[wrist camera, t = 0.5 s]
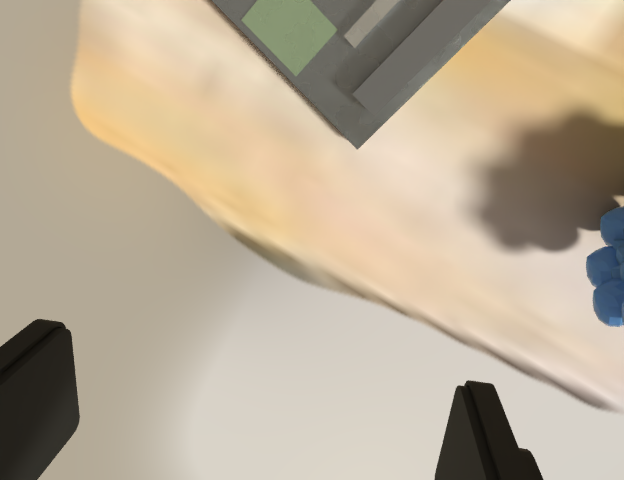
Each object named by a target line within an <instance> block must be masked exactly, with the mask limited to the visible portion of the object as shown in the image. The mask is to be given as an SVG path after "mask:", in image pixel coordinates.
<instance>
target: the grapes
mask: <svg viewBox="0 0 624 480" xmlns="http://www.w3.org/2000/svg"><path fill="white" fill-rule="evenodd" d="M600 231H601V237H602V238H603V240H604V242H605V244H606V245H608V247H603V248H600V249H598V250H596V251H594V252H593V253H592V254H590V255H589V256H588V257H587V262H586V270H587V277H588V278H589V280H590V282H591V284H592V285H593V286H595V287H596V289H595V290H594V292H593V307H594V311H595V313H596V315H597V317H598V319H599V320H600V321H601V322H603V323H604V324H606V325H607V326H615V327H620V326H622V325H624V206H623V207H617V208H615V209H613V210H610V211H609V212H607V213H606V214H604V215H603V216H602V217H601V222H600Z"/></svg>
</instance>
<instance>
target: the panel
mask: <svg viewBox="0 0 624 480" xmlns="http://www.w3.org/2000/svg"><path fill="white" fill-rule="evenodd" d="M212 1H213V2H214V3H215V4H216V5H217V6H218V7H219V8H220V9H221V11H222V12H223V13H224V14H225V15H226V16H227V17H228V18H229V19H230V20H231V21H232V22H233V23H234V24H235V25H236V26H237V27H238V28H239V29H240V30H241V31H242V32H243V33H244V34H245V35H246V36H247V37H248V38H249V39H250V40H251V41H252V42H253V43H254V44H255V45H256V46H257V47H258V48H259V49H260V50H261V51H262V52H263V53H264V54H265V56H266V57H267V58H268V59H269V60H270V61H271V62H272V63H273V64H274V65H275V66H276V67H277V68H278V69H279V70H280V71H281V72H282V73H283V74H284V75H285V76H286V77H287V78H288V79H289V80H290V81H291V82H292V83H293V84H294V85H295V86H296V87H297V88H298V89H299V90H300V91H301V92H302V93H303V94H304V95H305V96H306V97H307V98H308V100H309V101H310V102H311V103H312V104H313V105H314V106H315V107H316V108H317V109H318V110H319V111H320V112H321V113H322V114H323V115H324V116H325V117H326V118H327V119H328V120H329V121H330V122H331V123H332V124H333V125H334V126H335V127H336V128H337V129H338V130H339V131H340V132H341V133H342V134H343V135H344V136H345V137H346V138H347V139H348V140H349V141H350V142H351V143H352V145H353V146H354V147H355V148H356V149H358V148H359V147H361V146H362V145H363V144H364V143H365V142H366V141H367V140H368V139H369V138H370V137H371V136H372V135H373V134H374V133H375V132H376V131H377V130H378V129H379V128H380V127H381V126H382V125H383V124H384V123H385V122H386V121H387V120H388V119H389V118H390V117H391V116H392V115H393V114H394V113H395V112H396V111H397V110H398V109H399V108H401V107H402V106H403V105H404V104H405V103H406V102H407V101H408V100H409V99H410V98H411V97H412V96H413V95H414V94H415V93H416V92H417V91H418V90H419V89H420V88H421V87H422V86H423V85H424V84H425V83H426V82H427V81H428V80H429V79H430V78H431V77H432V76H433V75H434V74H435V73H436V72H437V71H438V70H439V69H441V68H442V67H443V66H444V65H445V64H446V63H447V62H448V61H449V60H450V59H451V58H452V57H453V56H454V55H455V54H456V53H457V52H458V51H459V50H460V49H461V48H462V47H463V46H464V45H465V44H466V43H467V42H468V41H469V40H470V39H471V38H472V37H473V36H474V35H475V34H476V33H477V32H478V31H479V30H480V29H482V28H483V27H484V26H485V25H486V24H487V23H488V22H489V21H490V20H491V19H492V18H493V17H494V16H495V15H496V14H497V13H498V12H499V11H500V10H501V9H502V8H503V7H504V6H505V5H506V4H507V3H508V2H509V1H510V0H491V1H490V2H489V3H488V4H487V5H486V6H485V7H484V8H483V9H482V10H481V11H480V12H479V13H478V14H477V15H476V16H475V17H474V18H473V19H472V20H471V21H470V22H469V23H468V24H467V25H466V26H465V27H464V28H463V29H462V30H461V31H460V32H459V33H458V34H457V35H456V36H455V37H454V38H453V39H452V40H451V41H450V42H449V43H448V44H447V45H446V46H445V47H444V48H443V49H442V50H441V51H440V52H439V53H438V54H437V55H436V56H435V57H434V58H433V59H432V60H431V61H430V62H429V63H428V64H427V65H426V66H425V67H424V68H422V69H421V70H420V71H419V72H418V73H417V74H416V75H415V76H414V77H413V78H412V79H411V80H410V81H409V82H408V83H407V84H406V85H405V86H404V87H403V88H402V89H401V90H400V91H399V92H398V93H397V94H396V95H395V96H394V97H393V98H392V99H391V100H390V101H389V102H388V103H387V104H386V105H385V106H384V107H383V108H382V109H381V110H380V111H379V112H378V113H377V114H376V115H375V116H373V115H372V114H371V113H370V112H369V111H368V110H367V109H366V108H365V107H364V106H363V105H362V104H361V103H360V102H359V101H358V100H357V99H356V98H355V97H354V95H353V94H352V93H353V92H354V91H355V90H356V89H357V88H358V87H359V86H360V85H361V84H362V83H363V82H364V80H365V79H366V78H367V77H368V76H369V75H370V74H371V73H372V72H373V71H374V70H375V69H376V68H377V67H378V66H379V65H380V64H381V63H382V62H383V61H384V60H385V59H386V58H387V57H388V56H389V55H390V54H391V53H392V52H393V50H394V49H395V48H396V47H397V46H398V45H399V44H400V43H401V42H402V41H403V40H404V39H405V38H406V37H407V36H408V35H409V34H410V33H411V32H412V31H413V30H414V29H415V28H416V27H417V26H418V25H419V24H420V23H421V22H422V21H423V19H424V18H425V17H426V16H427V15H428V14H429V13H430V12H431V11H432V10H433V9H434V8H435V7H436V6H437V5H438V4H439V3H440V2H441V1H442V0H212Z"/></svg>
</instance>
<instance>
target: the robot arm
mask: <svg viewBox="0 0 624 480" xmlns="http://www.w3.org/2000/svg"><path fill="white" fill-rule="evenodd" d="M79 418H80V415H79V406H78V396H77V387H76V376H75V366H74V356H73V347H72V336H71V332H70V330H68V329H66V327H65V325H64V324H63V323H62V322H57V321H49V320H43V319H37V320H35V321H33V322H32V323H31V324H29V325H28V326H27V327H26V328H24V329H23V330H21V331H20V332H19V333H18V334H16V335H15V336H14V337H13V338H11V339H10V340H9V341H7V342H6V343H5V344H3V345H2V346H1V347H0V480H37V479H38V478H39V477H40V475H41V474H42V473H43V472H44V470H45V469H46V468H47V467H48V465H49V464H50V463H51V462H52V460H53V459H54V458H55V456H56V455H57V454H58V453H59V451H60V450H61V449H62V448H63V446H64V445H65V444H66V443H67V441H68V440H69V439H70V438H71V436H72V435H73V434H74V432H75V431H76V429H77V426H78V424H79ZM435 480H543V478H542V475H541V473H540V470H539V468H538V466H537V463H536V461H535V459H534V457H533V455H532V453H531V452H530V451H529V450H527V449H522V448H518V445H517V443H516V440H515V438H514V435H513V433H512V430H511V427H510V425H509V422H508V420H507V417H506V415H505V412H504V409H503V407H502V404H501V402H500V399H499V397H498V394H497V392H496V389H495V387H494V385H493V384H490V383H483V382H476V381H466V383H465V385H464V386H457V388H456V391H455V395H454V399H453V403H452V407H451V411H450V416H449V419H448V424H447V427H446V432H445V436H444V440H443V444H442V448H441V452H440V456H439V461H438V464H437V468H436V473H435Z"/></svg>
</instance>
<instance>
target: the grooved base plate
mask: <svg viewBox="0 0 624 480" xmlns="http://www.w3.org/2000/svg"><path fill="white" fill-rule="evenodd" d="M490 1H491V0H442V1H441V2H440V3H439V4H438V5H437V6H436V7H435V8H434V9H433V10H432V11H431V12H430V13H429V14H428V15H427V16H426V17H425V18H424V19H423V21H422V22H421V23H420V24H419V25H418V26H417V27H416V28H415V29H414V30H413V31H412V32H411V33H410V34H409V35H408V36H407V37H406V38H405V39H404V40H403V41H402V42H401V43H400V44H399V45H398V46H397V47H396V48H395V49H394V50H393V52H392V53H391V54H390V55H389V56H388V57H387V58H386V59H385V60H384V61H383V62H382V63H381V64H380V65H379V66H378V67H377V68H376V69H375V70H374V71H373V72H372V73H371V74H370V75H369V76H368V77H367V78H366V79H365V80H364V82H363V83H362V84H361V85H360V86H359V87H358V88H357V89H356V90H355V91H354V92H353V93H352V94H353V95H354V97H355V98H356V99H357V100H358V101H359V102H360V103H361V104H362V105H363V106H364V107H365V108H366V109H367V110H368V111H369V112H370V113H371V114H372V115H373V116H375V115H376V114H377V113H378V112H379V111H380V110H381V109H382V108H383V107H384V106H385V105H386V104H387V103H388V102H389V101H390V100H391V99H392V98H393V97H394V96H395V95H396V94H397V93H398V92H399V91H400V90H401V89H402V88H403V87H404V86H405V85H406V84H407V83H408V82H409V81H410V80H411V79H412V78H413V77H414V76H415V75H416V74H417V73H418V72H419V71H420V70H421V69H422V68H424V67H425V66H426V65H427V64H428V63H429V62H430V61H431V60H432V59H433V58H434V57H435V56H436V55H437V54H438V53H439V52H440V51H441V50H442V49H443V48H444V47H445V46H446V45H447V44H448V43H449V42H450V41H451V40H452V39H453V38H454V37H455V36H456V35H457V34H458V33H459V32H460V31H461V30H462V29H463V28H464V27H465V26H466V25H467V24H468V23H469V22H470V21H471V20H472V19H473V18H474V17H475V16H476V15H477V14H478V13H479V12H480V11H481V10H482V9H483V8H484V7H485V6H486V5H487V4H488V3H489V2H490Z"/></svg>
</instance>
